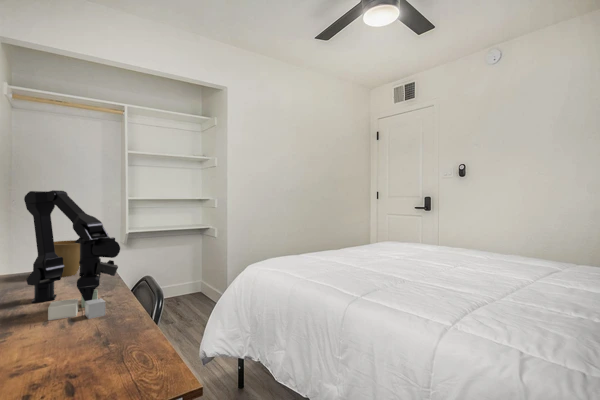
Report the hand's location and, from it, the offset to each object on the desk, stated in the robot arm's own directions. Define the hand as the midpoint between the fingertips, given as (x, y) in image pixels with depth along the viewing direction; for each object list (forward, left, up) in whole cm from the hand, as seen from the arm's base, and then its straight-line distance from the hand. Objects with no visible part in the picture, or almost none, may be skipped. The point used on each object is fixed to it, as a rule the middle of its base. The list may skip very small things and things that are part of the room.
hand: (89, 301), depth 112 cm
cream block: (+8, -7, -1) cm, 10 cm away
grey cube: (+13, +2, -1) cm, 13 cm away
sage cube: (0, 0, -1) cm, 1 cm away
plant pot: (-57, -12, -1) cm, 58 cm away
